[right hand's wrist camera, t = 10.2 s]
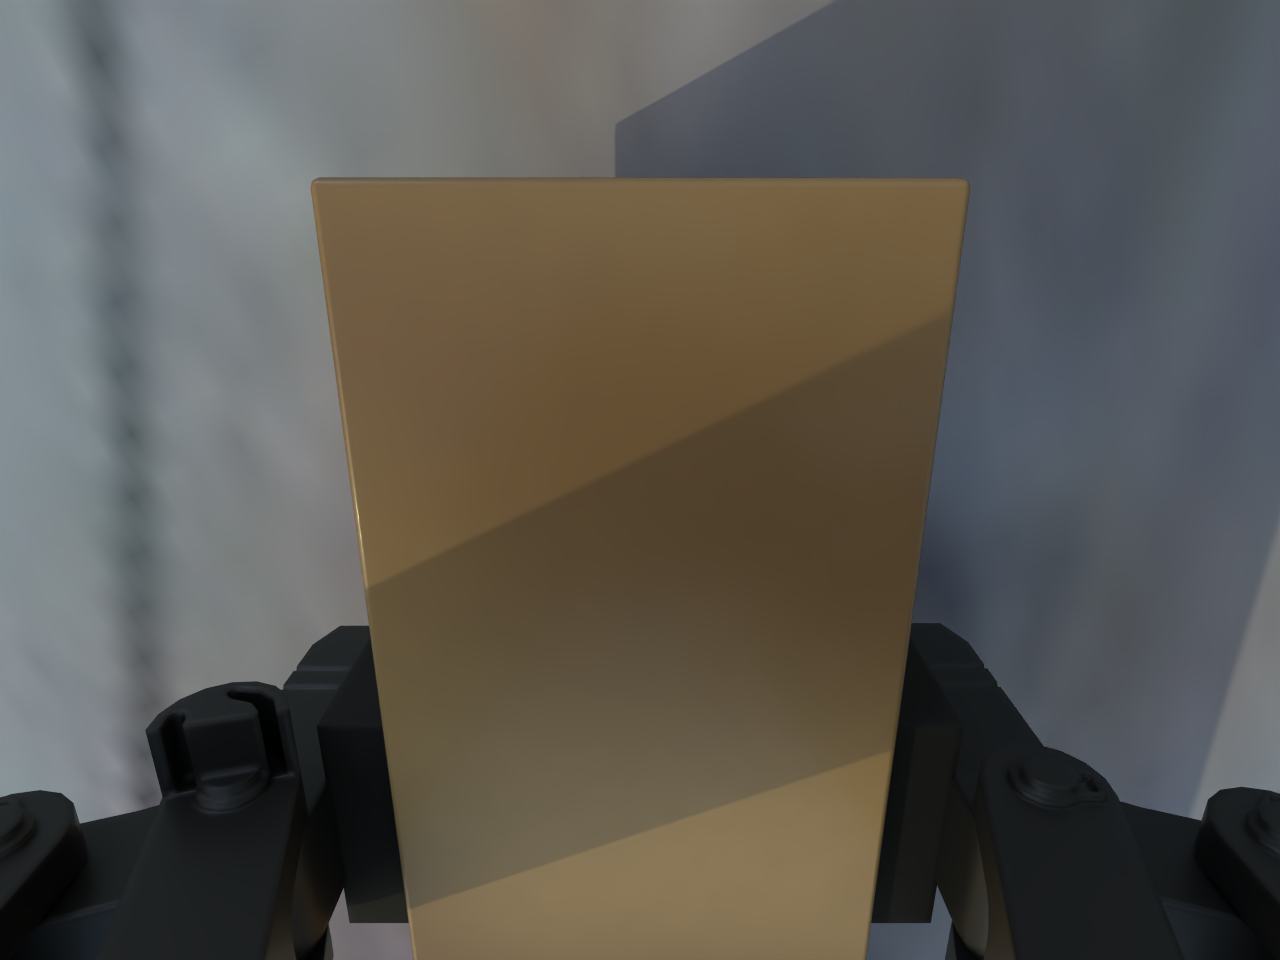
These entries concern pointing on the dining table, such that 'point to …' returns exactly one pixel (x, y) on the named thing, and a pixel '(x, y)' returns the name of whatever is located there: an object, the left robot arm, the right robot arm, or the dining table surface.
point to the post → (640, 544)
